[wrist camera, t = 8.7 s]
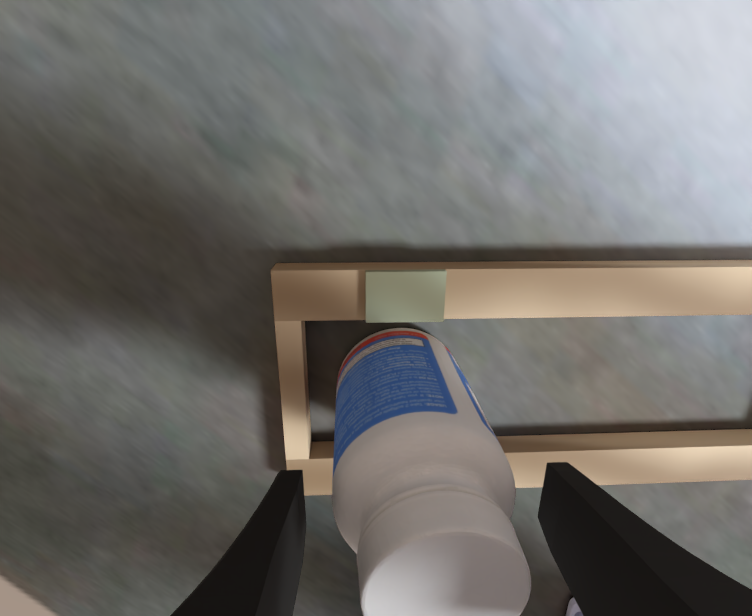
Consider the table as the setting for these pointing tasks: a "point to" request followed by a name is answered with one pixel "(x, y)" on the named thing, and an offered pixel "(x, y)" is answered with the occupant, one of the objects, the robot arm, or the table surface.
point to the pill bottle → (423, 485)
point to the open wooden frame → (516, 300)
